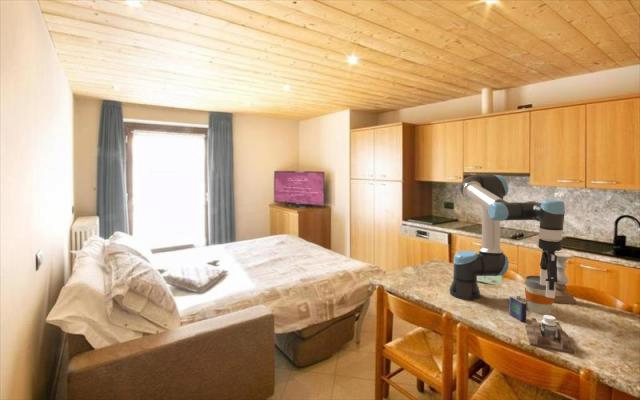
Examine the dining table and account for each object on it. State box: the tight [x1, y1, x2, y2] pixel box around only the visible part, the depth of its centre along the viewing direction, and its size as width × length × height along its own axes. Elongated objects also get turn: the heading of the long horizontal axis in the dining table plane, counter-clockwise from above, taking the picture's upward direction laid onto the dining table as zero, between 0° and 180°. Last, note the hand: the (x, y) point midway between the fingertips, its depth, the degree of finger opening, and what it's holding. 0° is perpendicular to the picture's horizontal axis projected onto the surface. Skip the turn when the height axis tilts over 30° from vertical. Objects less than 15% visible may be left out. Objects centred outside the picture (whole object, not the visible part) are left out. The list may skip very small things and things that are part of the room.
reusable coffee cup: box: [524, 275, 556, 315], centre depth 155 cm, size 13×13×15 cm
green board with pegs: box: [477, 275, 503, 285], centre depth 201 cm, size 25×21×9 cm
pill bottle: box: [540, 314, 557, 340], centre depth 129 cm, size 5×5×8 cm
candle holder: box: [553, 251, 577, 305], centre depth 167 cm, size 11×11×24 cm
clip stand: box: [524, 317, 576, 355], centre depth 129 cm, size 16×14×4 cm
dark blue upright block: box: [508, 295, 528, 324], centre depth 147 cm, size 9×3×11 cm, turn 8°
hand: (546, 291), depth 130 cm, fingers open, 13 cm apart
